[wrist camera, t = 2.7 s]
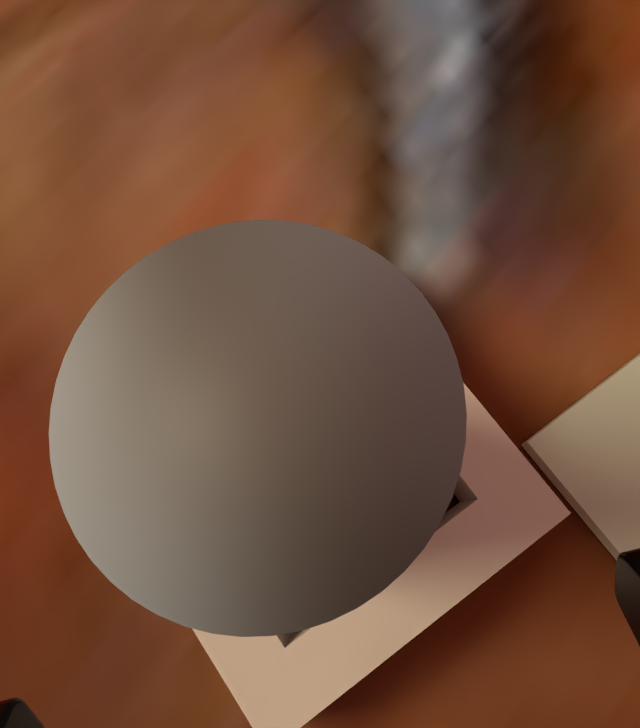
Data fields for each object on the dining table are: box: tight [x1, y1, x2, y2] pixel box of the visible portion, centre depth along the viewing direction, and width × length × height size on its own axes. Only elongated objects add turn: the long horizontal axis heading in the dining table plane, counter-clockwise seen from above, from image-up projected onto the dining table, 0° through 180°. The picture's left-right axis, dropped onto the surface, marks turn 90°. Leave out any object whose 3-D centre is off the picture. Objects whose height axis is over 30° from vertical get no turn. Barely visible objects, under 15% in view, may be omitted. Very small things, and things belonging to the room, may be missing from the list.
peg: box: [49, 220, 467, 637], centre depth 13 cm, size 5×5×13 cm
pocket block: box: [192, 383, 571, 728], centre depth 18 cm, size 10×10×3 cm
